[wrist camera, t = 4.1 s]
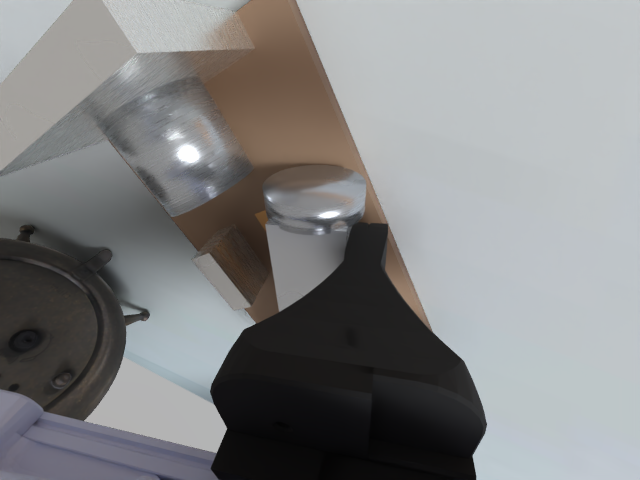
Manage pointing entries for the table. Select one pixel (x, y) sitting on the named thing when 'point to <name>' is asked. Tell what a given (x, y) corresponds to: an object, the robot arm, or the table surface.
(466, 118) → the table surface
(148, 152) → the square plate with knob
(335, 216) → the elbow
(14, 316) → the alarm clock
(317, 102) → the board
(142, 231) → the table surface
